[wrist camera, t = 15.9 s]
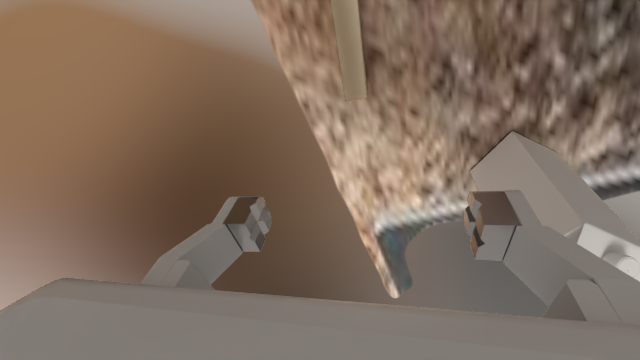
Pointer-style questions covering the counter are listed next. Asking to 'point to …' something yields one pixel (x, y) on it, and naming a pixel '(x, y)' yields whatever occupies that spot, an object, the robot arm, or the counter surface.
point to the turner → (350, 47)
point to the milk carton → (559, 199)
